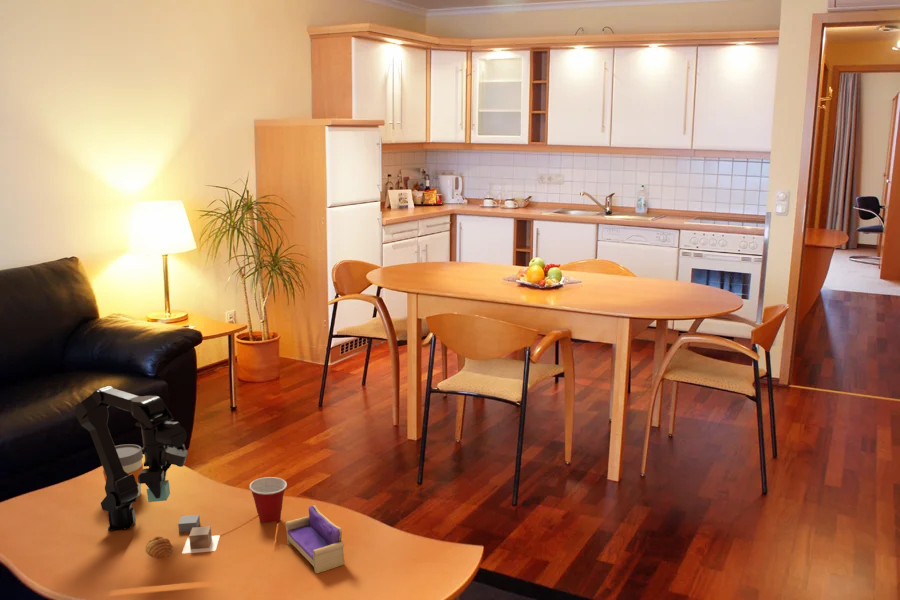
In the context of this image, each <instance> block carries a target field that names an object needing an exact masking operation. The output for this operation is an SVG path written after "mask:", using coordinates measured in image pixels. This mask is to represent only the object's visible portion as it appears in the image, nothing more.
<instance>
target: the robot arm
mask: <svg viewBox="0 0 900 600" xmlns="http://www.w3.org/2000/svg"><path fill="white" fill-rule="evenodd" d="M111 406H112V407H114V408H117V409H120V410H123V411H127V412H129V413H131V416H132V417H133V418H134V419H136V420H138V421H137V422H136V423H135V427H139V428H141V436H142V437H141V438H142V445H143V447H141V450H142V454H143V453H144V454H143V456H144V462H143V470H142V471H141V472H140V474H139V476H138V482H139V484H141V485H143V484H145V485H146V486H147V487H148V488H149V489H150V491H151V492H152V493H153V495H154V496H155V498H160V493H161V481H164V480H167V479H166V477H167V471H168V470H169V469H170V468H171V466H172V465H174V466H177V467H180V468H183V467H184V465H185V463H186V461H187V457H188V452H189V451H188V449H186V446H185V445H186V444H185V443H186V442H187V438H188V437H187V436H188V434H187V431H186V429H185V428H184V427H183V426H181V424H180V422H179V421H173V420H175V418H174V416H173V415H172V412H171V411H170V410H169V408H168V406H167V405H166V404H165V402H164V400H163V399H162V398H161V397H160V396H157V395H144V396H143V395H142V396H140V395H136V394H133V393H129V392H127V391H124V390H119V389H116V388H114V387H113V386H111V385H106V386H103V387H100V388H98V389H95V390H94V391H93V392H92V393H91V394H90V395H89V396H88V397H86V398H85V399H83V400H82V401H81V402H78V403H76V405H75V409H74V415H75V417H76V419H77V420H78V422H79V424H80V426H81V427H82V428H84V430H85V429H86V430H87V431H88V432H89V434H90V437H91V440H92V441H93V445H94V447H95V450H96V452H97V455H98V457H99V460H100V464H101V463H102V464H101V466H102V468H103V470H104V471H105V474H106V477H107V479H106V481H105V485H104V491H105V495H106V496H105V497H104V498H103V499H102V501H101V502H100V506H101V509H102V510H103V511H105V512H107V515H108V517H107V518H108V524H109V525H108V527H107V531H119V530H120V531H121V530H130V529H131V528H132V527H133V525H134V524H135V521H136V512H135V507H133V503H136V502H137V498H138V497H137V494H138V484H137V483H136V480H135V477H134V475H133V474H131V475H129V474H128V473H126V472H125V471H124V469H123V467H122V464H121V461H120V459H119V456H118V453H117V451H116V448H115V446H116V444H115V443H114V440H113V438H112V436H111V433H110V429H109V427H108V421H109V417H110V415H109V410H108V408H109V407H111Z"/></svg>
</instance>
